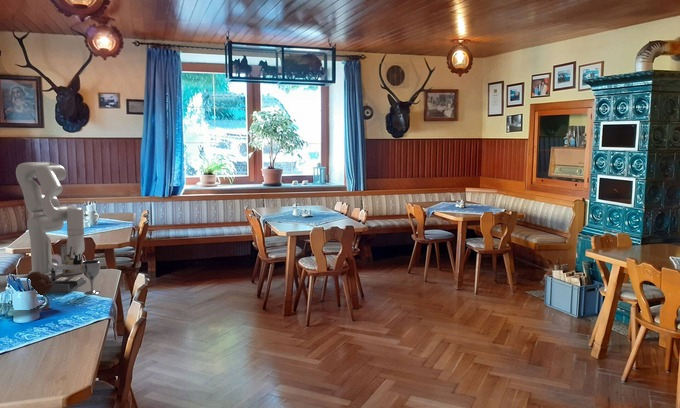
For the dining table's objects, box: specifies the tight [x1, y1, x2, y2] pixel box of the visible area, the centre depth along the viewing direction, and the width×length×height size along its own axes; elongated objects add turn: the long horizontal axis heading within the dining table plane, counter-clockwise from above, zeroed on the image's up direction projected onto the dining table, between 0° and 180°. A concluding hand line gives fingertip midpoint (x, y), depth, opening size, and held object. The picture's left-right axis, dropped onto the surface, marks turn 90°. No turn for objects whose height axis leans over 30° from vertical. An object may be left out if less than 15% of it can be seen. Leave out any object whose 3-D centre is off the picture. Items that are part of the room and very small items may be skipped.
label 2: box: [69, 277, 81, 281], centre depth 258 cm, size 5×4×1 cm
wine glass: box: [82, 259, 101, 296], centre depth 246 cm, size 8×8×15 cm
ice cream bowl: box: [26, 272, 53, 296], centre depth 228 cm, size 11×11×15 cm
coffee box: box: [59, 243, 83, 277], centre depth 281 cm, size 9×6×16 cm
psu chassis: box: [47, 271, 87, 294], centre depth 254 cm, size 19×15×8 cm
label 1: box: [56, 277, 69, 281], centre depth 258 cm, size 5×4×1 cm
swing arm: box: [48, 262, 82, 272], centre depth 257 cm, size 18×4×3 cm, turn 93°
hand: (77, 267), depth 263 cm, fingers closed
